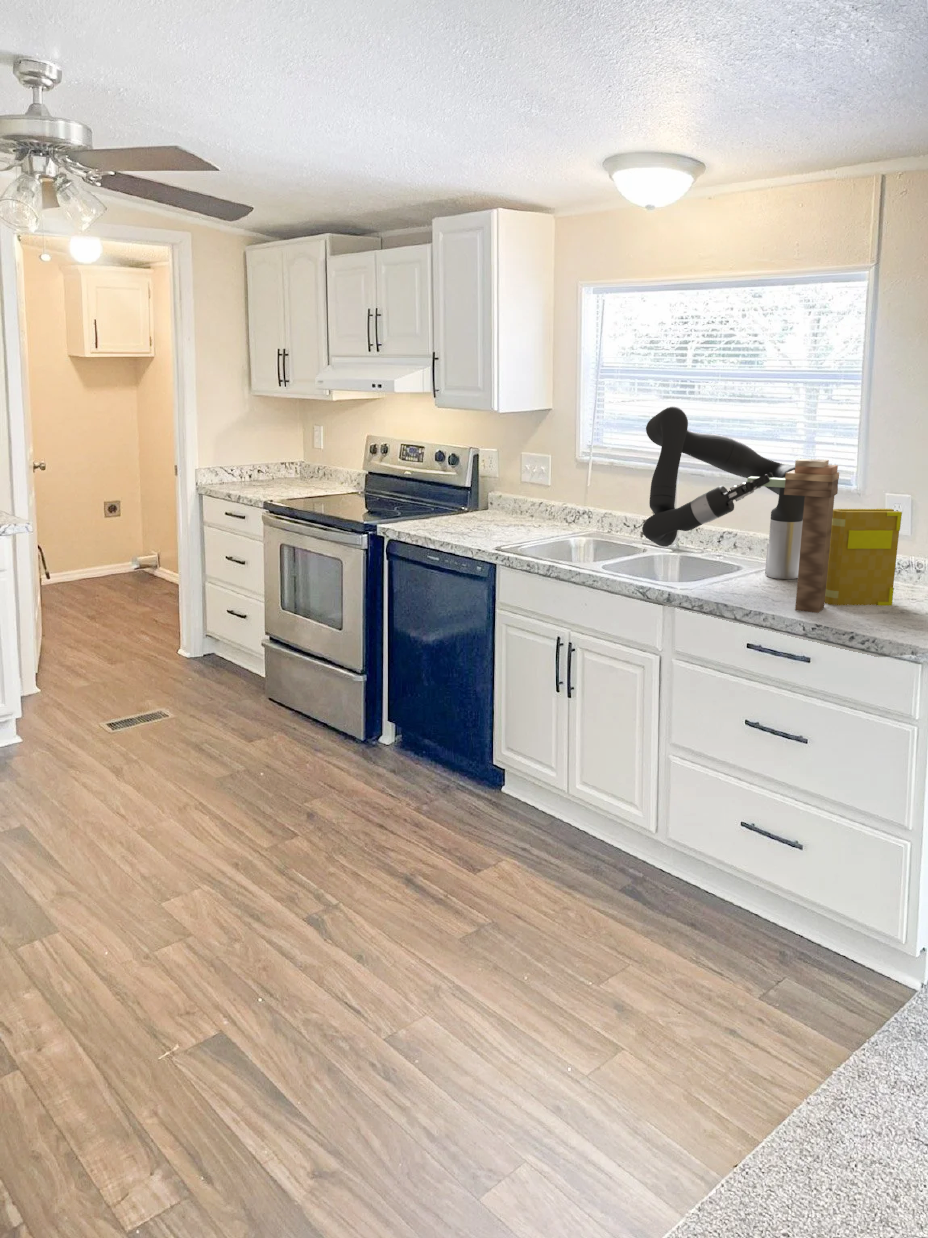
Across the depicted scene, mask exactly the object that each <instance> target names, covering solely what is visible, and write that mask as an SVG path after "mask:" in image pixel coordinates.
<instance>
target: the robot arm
mask: <svg viewBox="0 0 928 1238" xmlns="http://www.w3.org/2000/svg"><path fill="white" fill-rule="evenodd" d="M688 428H689V421H688V416H687V414H686V412H684V410H683V409H681V408H680V407H678V406H669V407H666V408H664V409H663V410H661V411H659V413H657V414H655V415H654V416H652V417H651V418H650V419H649V420H648V422H647V424H646V425H645V432H646V434H647V437H648V439H649V440H650V441H651V442H653V444H655V445H657V446H659V447H661V450H660V454H659V456H658V460H657V464H656V466H655V469H654V472H653V475H652V478H651V484H650V491H649V509H650V510H651V511H652V512H653V515H651V516H650V517H648V518H647V519H646V520H645V521H644V523H642V524H643V525H642V529H641V530H642V535H643V537H645V538H646V539H647V540H649V541H651V543H652V542H653V543H654V544H656V545H657V546H659V547H663V548H665V547H669V546H670V545H672V544H674V542H675V540H676V539H677V535H678V531H683V532H689V531H692V530H694V529H696V528H699V527H700V526H702V525H704V524H705V525H706V524H707V523H711V522H712V521H715V520H717V519H719V518H721V517H723V516H725V515H727V514H729V513H731V512H733V511H734V510H735V503H734V501H735V502H738V501H741V500H743V499H745V498H746V497H747V496H749V495H751V494H753V493H754V492H755V490H757V489H761V488H762V487H763V486H762V485H764V484H766V483H768V482H770V479H769V477H772V478H785V475H786V473H787V472H789V471H792V470H795V465H791V464H785V463H782V462H781V463H780V462H777V461H774V460H771V459H769V458H766V457H764V456H761V454H758V453H757V452H756V451H755V450H753V449H752V448H751V447H749V446H747V445H746V444H744V443H743V442H740V441H738V440H736V439H734V438H732V437H729V436H727V435H721V434H714V433H705V432H696V431H692V430H689V429H688ZM682 454H685V455H687V456H690V457H691V458H695V459H697V460H698V461H701V462H704V463H706V464H708V465H711V466H713V467H715V468H716V469H717V468H718V469H720V470H722V471H724V472H726V473H728V474H731V475H735V476H738V477H741V478H745V479H747V478H748V477H751V476H752V477H759V478H757V479H755V480H752V481H750V482H747V481H744V482H742V483H740V484H736V485H734V486H732V487H729V489H730V490H728V489H727V488H726V487H725V486H723V485H718V486H717V487H715V488H713V489H711V490H709V491H707V492H705V493H703V494H701V495H699V496H698V497H696V498H694V499H693V500H691V501H688V502H687V503H685V504H682V505H681V506H679V507H677V508H676V507H675V506H676V494H677V482H678V473H679V468H680V463H681V458H682ZM765 488H766V489H768V490H770V491H771V492H773V493H775V494H776V495H778V500H777V505H776V507H774V508H772V509H771V511H770V523H769V536H768V537H769V538H768V543H767V544H766V555H765V558H766V559H765V572H764V574H765V575H766V577H769V578H772V579H778V580H793V579H794V580H795V579H798V570H799V558H800V547H801V535H802V523H803V511H804V499H805V496H797V495H784V489H785V488H783V487H765Z"/></svg>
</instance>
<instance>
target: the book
mask: <svg viewBox="0 0 928 1238" xmlns="http://www.w3.org/2000/svg"><path fill="white" fill-rule="evenodd" d="M902 515H903V512H902V511H900V510H899V511H897V510H896V511H895V509H894V508H833V517H832V528H831V539H830V550H829V561H828V572H827V583H826V594H825V604H826V605H832V606H880V607H881V606H882V607H884V606H887V607H888V606H889V607H890V606H893V597H894V589H895V588H894V582H895V574H896V564H897V563H896V562H897V555H898V544H899V537H900V536H899V535H900V531H901V525H902V523H901V522H902Z"/></svg>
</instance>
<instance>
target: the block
mask: <svg viewBox="0 0 928 1238" xmlns="http://www.w3.org/2000/svg"><path fill="white" fill-rule="evenodd" d="M757 478H759V477H752V476H751V477H748V478H746V479H747V480H746V482H750V481H752V480H755V479H757ZM769 479H770V482H768V483H766V484H764V485H762V487H764V488H766V487H783V488H785V480H786V479H785V478H772V477H769Z"/></svg>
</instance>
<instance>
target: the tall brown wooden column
mask: <svg viewBox="0 0 928 1238" xmlns="http://www.w3.org/2000/svg"><path fill="white" fill-rule="evenodd" d="M829 462H830V461H829V459H816V458H814V459H813V458H798V459H796V460H795V461H794V466H795V470H792V471H789V472H787V473H786V475H785V479H786V480H785V489H784V495H797V496H805V499H804V511H803V523H802V535H801V547H800V558H799V570H798V578H797V584H796V595H795V596H796V597H795V598H796V599H795V607H794V610H795V611H798V612H806V613H814V614H816V613H817V614H820V613H821V612H822V611H823V609H825V606H826V605H825V604H826V603H825V594H826V583H827V572H828V561H829V550H830V539H831V528H832V517H833V509H834V505H835V502H834V501H835V496H836V495H838V494H839V493H838V491H839V489H838V486H839V479H840V472H838V467H839V465H838V464H829Z"/></svg>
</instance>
